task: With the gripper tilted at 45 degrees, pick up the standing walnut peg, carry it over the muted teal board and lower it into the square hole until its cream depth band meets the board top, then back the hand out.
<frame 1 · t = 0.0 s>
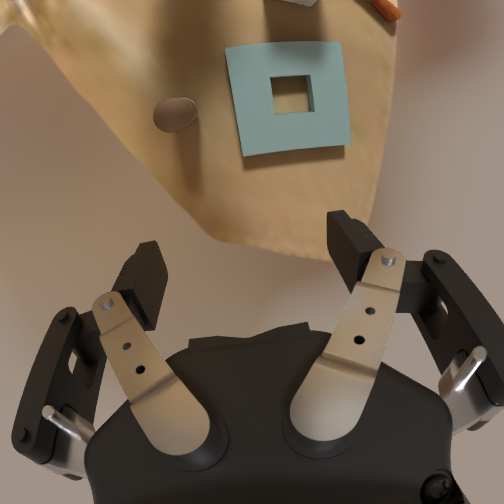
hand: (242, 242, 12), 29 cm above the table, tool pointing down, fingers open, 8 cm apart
board: (289, 94, 34), on the table
peg: (185, 111, 34), on the table
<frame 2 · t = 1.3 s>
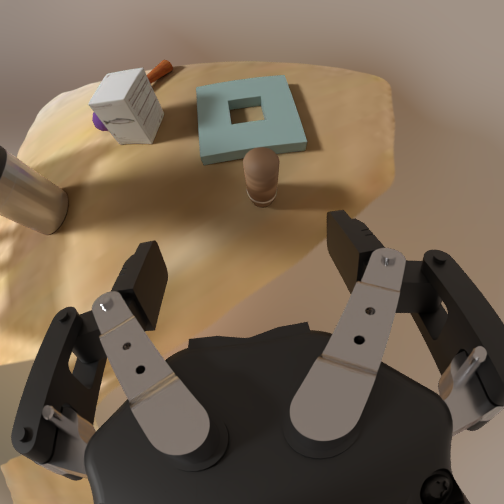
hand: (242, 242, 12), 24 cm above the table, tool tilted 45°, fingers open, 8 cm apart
kendama: (137, 100, 45), on the table
board: (247, 118, 42), on the table
supplement box: (142, 129, 43), on the table
peg: (262, 197, 39), on the table
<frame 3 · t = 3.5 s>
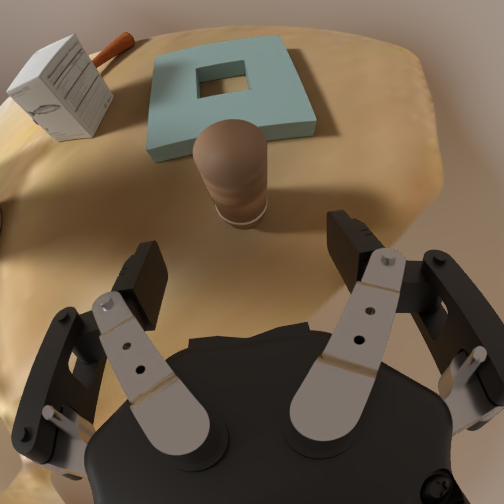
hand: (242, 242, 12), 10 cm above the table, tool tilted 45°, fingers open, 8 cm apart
kendama: (89, 84, 30), on the table
board: (224, 92, 27), on the table
supplement box: (86, 120, 28), on the table
peg: (243, 211, 23), on the table
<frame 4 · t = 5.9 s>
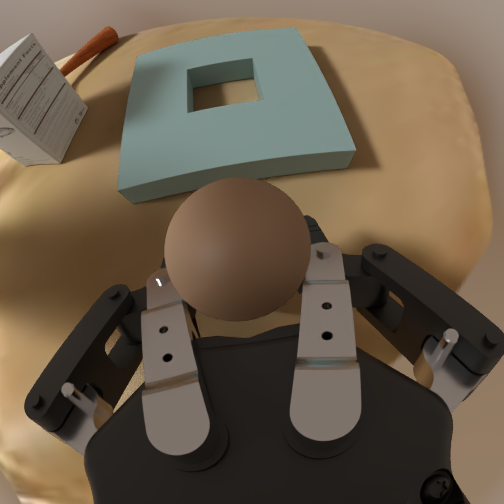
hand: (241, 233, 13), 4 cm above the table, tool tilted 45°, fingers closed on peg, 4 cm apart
kendama: (64, 90, 24), on the table
board: (226, 102, 20), on the table
supplement box: (55, 138, 21), on the table
peg: (252, 282, 17), on the table, touching gripper
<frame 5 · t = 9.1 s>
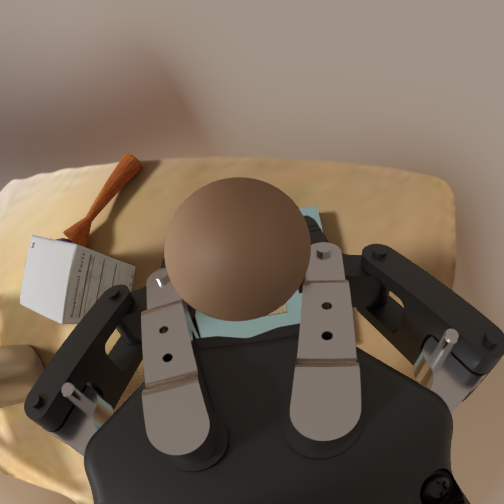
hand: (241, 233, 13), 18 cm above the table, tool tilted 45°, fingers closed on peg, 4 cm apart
kendama: (99, 223, 34), on the table
board: (258, 291, 30), on the table
supplement box: (110, 289, 31), on the table
peg: (253, 282, 17), point 14 cm above the table, touching gripper
when the fingers open (5 cm above the table, at t = 12.7 s): peg stays where it is, resting in board.
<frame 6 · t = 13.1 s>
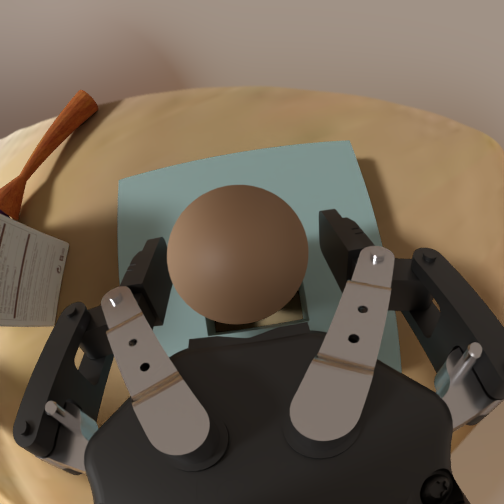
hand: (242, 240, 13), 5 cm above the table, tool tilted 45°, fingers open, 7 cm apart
kendama: (40, 185, 21), on the table
board: (252, 283, 17), on the table
supplement box: (39, 277, 18), on the table
peg: (253, 284, 17), resting in board
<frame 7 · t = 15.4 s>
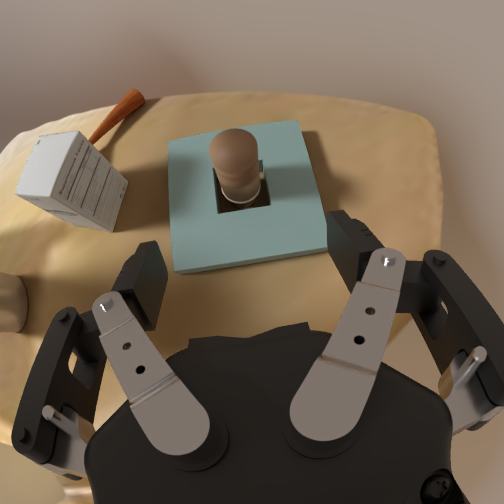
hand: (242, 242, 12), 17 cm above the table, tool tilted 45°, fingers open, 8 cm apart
kendama: (100, 149, 34), on the table
board: (242, 194, 31), on the table
supplement box: (101, 205, 32), on the table
peg: (242, 195, 31), resting in board
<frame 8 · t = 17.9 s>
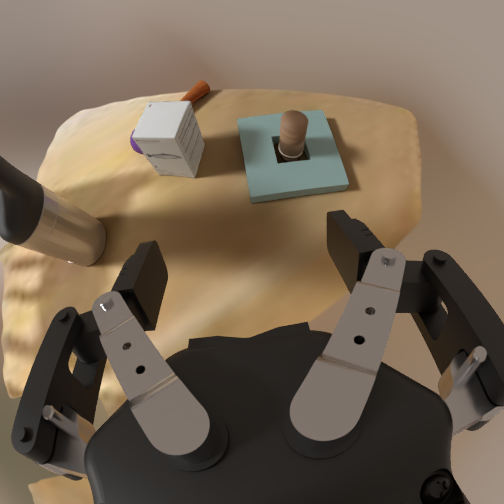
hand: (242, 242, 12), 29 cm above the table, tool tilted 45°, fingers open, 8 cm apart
kendama: (174, 122, 48), on the table
board: (289, 155, 45), on the table
supplement box: (182, 160, 46), on the table
peg: (289, 155, 45), resting in board
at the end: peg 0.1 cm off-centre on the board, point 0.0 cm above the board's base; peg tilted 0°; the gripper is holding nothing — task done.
